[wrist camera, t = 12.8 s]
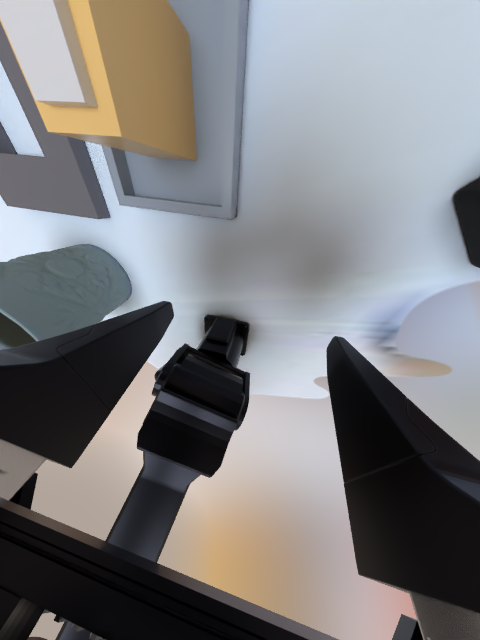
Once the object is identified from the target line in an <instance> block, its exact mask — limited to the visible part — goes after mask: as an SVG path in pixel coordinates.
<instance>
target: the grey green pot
mask: <svg viewBox="0 0 480 640" xmlns="http://www.w3.org/2000/svg"><path fill="white" fill-rule="evenodd" d="M131 291H132V290H131V284H130V280H129V278H128V276H127V274H126V272H125V271H124V269H123V268H122V267H121V265H120V264H119V263H118V262H117V261H116V260H115V259H114V258H113V257H112V256H111V255H110V254H108V253H107V252H105V251H104V250H102V249H100V248H98V247H95V246H93V245H76V246H71V247H66V248H62V249H57V250H53V251H50V252H41V253H36V254H32V255H25V256H21V257H18V258H16V259H11V260H10V261H8V262H0V349H1V350H2V349H9V348H15V347H19V346H23V345H26V344H30V343H33V342H37V341H40V340H44V339H47V338H51V337H54V336H58V335H61V334H65V333H68V332H72V331H75V330H78V329H81V328H84V327H87V326H90V325H93V324H96V323H98V322H100V321H102V320H103V318H104V317H105V316H106V315H108V314H109V313H110V312H112V311H113V310H115V309H116V308H117V307H119V306H120V305H121V304H122V303H123V302H125V301H126V300H127V299H128V298H129V296H130V294H131Z"/></svg>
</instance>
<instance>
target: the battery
mask: <svg viewBox="0 0 480 640" xmlns="http://www.w3.org/2000/svg"><path fill="white" fill-rule="evenodd" d="M455 203H456V207H457V211H458V214H459V218H460V222H461V225H462V229H463V233H464V236H465V240H466V244H467V247H468V251H469V255H470V258H471V262H472V264H473V265H474V266H476V267H478V268H480V178H479V179H478V180H476V181H474V182H473V183H471V184H469V185H468V186H466V187H464V188H463V189H461V190H460V191H459V192H458V193H457V194H456V196H455Z"/></svg>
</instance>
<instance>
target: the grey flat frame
mask: <svg viewBox="0 0 480 640" xmlns="http://www.w3.org/2000/svg"><path fill="white" fill-rule="evenodd" d="M0 61H1V63H2V65H3V68H4V70H5V72H6V74H7V76H8V78H9V81H10V83H11V85H12V87H13V89H14V91H15V93H16V96H17V98H18V100H19V102H20V104H21V106H22V109H23V111H24V113H25V115H26V117H27V119H28V121H29V124H30V126H31V128H32V130H33V132H34V134H35V137H36V139H37V141H38V143H39V145H40V147H41V149H42V152H43V154H44V156H45V157H37V156H27V155H17V153H16V151H15V149H14V147H13V146H12V144H11V142H10V140H9V138H8V136H7V134H6V132H5V131H4V129H3V127H2V125H1V123H0V195H1V197H2V198H3V200H4V201H5V203H6V205H7V206H12V207H19V208H26V209H33V210H40V211H46V212H53V213H60V214H67V215H74V216H81V217H88V218H94V219H103V218H109V217H110V215H109V212H108V209H107V206H106V203H105V200H104V197H103V195H102V192H101V189H100V186H99V183H98V180H97V177H96V174H95V171H94V168H93V165H92V163H91V160H90V157H89V154H88V151H87V148H86V145H85V142H84V141H83V140H79V139H75V138H71V137H67V136H63V135H59V134H55V133H51V132H48V131H47V129H46V126H45V124H44V122H43V119H42V117H41V115H40V112H39V110H38V108H37V105H36V103H35V101H34V98H33V96H32V94H31V91H30V89H29V87H28V84H27V82H26V80H25V77H24V75H23V73H22V70H21V68H20V66H19V63H18V61H17V59H16V56H15V54H14V52H13V49H12V47H11V45H10V42H9V40H8V38H7V36H6V33H5V31H4V29H3V26H2V24H1V22H0Z"/></svg>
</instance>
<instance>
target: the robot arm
mask: <svg viewBox="0 0 480 640" xmlns="http://www.w3.org/2000/svg"><path fill="white" fill-rule="evenodd" d="M173 317H174V312H173V307H172V304H171V303H170V302H167V301H162V302H159V303H156V304H153V305H150V306H147V307H144V308H141V309H138V310H135V311H132V312H129V313H126V314H123V315H120V316H117V317H114V318H111V319H108V320H105V321H102V322H99V323H96V324H93V325H90V326H87V327H84V328H81V329H78V330H75V331H72V332H68V333H65V334H61V335H58V336H54V337H51V338H47V339H44V340H40V341H37V342H33V343H30V344H26V345H23V346H19V347H15V348H9V349H2V350H0V640H47V639H44V638H41V637H29V635H30V633H31V632H32V630H33V628H34V627H35V625H36V623H37V622H38V620H39V618H40V616H41V615H42V614H43V613H49V612H52V613H54V614H56V617H55V619H54V621H56V622H63V621H65V622H64V624H63V626H62V628H61V630H60V632H59V634H58V636H57V638H56V640H338V639H336V638H334V637H331V636H329V635H327V634H324V633H322V632H319V631H317V630H314V629H312V628H310V627H308V626H305V625H303V624H300V623H298V622H296V621H293V620H291V619H288V618H286V617H284V616H281V615H279V614H277V613H274V612H272V611H270V610H267V609H265V608H262V607H260V606H258V605H255V604H253V603H250V602H248V601H246V600H243V599H241V598H239V597H236V596H234V595H232V594H229V593H227V592H224V591H222V590H220V589H217V588H215V587H213V586H210V585H208V584H205V583H203V582H201V581H198V580H196V579H193V578H191V577H189V576H186V575H184V574H182V573H179V572H177V571H175V570H172V569H170V568H167V567H165V566H163V565H160V564H158V563H157V561H158V559H159V556H160V554H161V552H162V549H163V547H164V544H165V542H166V539H167V537H168V535H169V532H170V530H171V527H172V525H173V523H174V520H175V518H176V516H177V513H178V511H179V509H180V506H181V504H182V501H183V499H184V497H185V494H186V492H187V489H188V487H189V485H190V483H191V482H192V481H194V480H195V479H196V478H197V477H198V476H200V475H201V474H202V475H204V476H207V477H209V478H210V477H212V476H213V475H214V473H215V472H216V471H217V470H218V469H219V467H220V466H221V464H222V461H223V458H224V454H225V452H226V449H227V446H228V443H229V441H230V438H231V436H232V434H233V431H234V430H237V429H238V428H239V427H240V426H241V424H242V422H243V419H244V417H245V414H246V412H247V407H248V403H249V385H250V373H248V372H244V371H242V370H240V369H238V368H237V364H238V361H239V358H240V355H242V356H243V355H245V352H246V345H247V339H248V332H249V324H248V323H245V322H240V321H235V320H230V319H226V318H221V317H216V316H211V315H206V316H205V318H204V321H205V336H204V338H203V339H202V341H201V343H200V344H199V346H198V348H197V350H196V349H194V348H192V347H190V346H189V345H187V344H184V345H183V346H182V347H181V348H179V349H178V350H177V351H176V352H175V354H174V355H173V356H172V357H171V359H170V360H169V361H168V362H167V363H166V364H165V365H164V366H163V367H161V368H160V369H159V370H158V371H157V372H156V374H155V380H156V382H155V385H154V388H153V391H152V395H153V396H156V398H155V400H154V402H153V404H152V406H151V408H150V410H149V412H148V414H147V416H146V418H145V420H144V422H143V426H142V427H141V429H140V431H139V433H138V441H137V449H139V450H141V451H143V459H144V464H143V467H142V469H141V471H140V473H139V475H138V477H137V479H136V481H135V483H134V485H133V487H132V489H131V492H130V493H129V495H128V497H127V499H126V501H125V503H124V505H123V507H122V509H121V511H120V513H119V515H118V517H117V519H116V521H115V523H114V525H113V527H112V529H111V531H110V533H109V535H108V537H107V539H106V541H103V540H101V539H99V538H96V537H94V536H91V535H89V534H87V533H84V532H82V531H79V530H77V529H75V528H72V527H70V526H68V525H65V524H63V523H61V522H58V521H56V520H53V519H51V518H49V517H46V516H44V515H41V514H39V513H37V512H34V511H32V510H31V505H32V500H33V495H34V490H35V485H36V480H37V475H38V474H37V473H34V472H35V471H36V470H37V469H38V468H39V467H40V466H41V465H42V463H43V462H44V461H45V460H46V459H47V460H50V461H52V462H55V463H58V464H61V465H63V466H66V467H69V468H72V467H73V465H74V464H75V463H76V461H77V460H78V459H79V457H80V456H81V454H82V453H83V451H84V450H85V449H86V447H87V446H88V444H89V443H90V441H91V440H92V439H93V437H94V435H95V434H96V433H97V431H98V430H99V428H100V427H101V426H102V424H103V423H104V421H105V420H106V418H107V417H108V416H109V414H110V413H111V411H112V410H113V408H114V407H115V405H116V404H117V402H118V401H119V399H120V398H121V396H122V395H123V394H124V392H125V391H126V389H127V388H128V387H129V385H130V384H131V382H132V381H133V379H134V378H135V376H136V375H137V374H138V372H139V371H140V369H141V368H142V366H143V365H144V364H145V362H146V361H147V359H148V358H149V356H150V355H151V353H152V352H153V351H154V349H155V348H156V346H157V345H158V343H159V342H160V340H161V339H162V337H163V336H164V334H165V332H166V330H167V328H168V326H169V324H170V323H171V321H172V319H173ZM208 318H209V319H208ZM245 326H247V327H245ZM327 378H328V385H329V391H330V398H331V404H332V410H333V416H334V423H335V429H336V436H337V442H338V449H339V455H340V461H341V467H342V474H343V480H344V487H345V494H346V500H347V507H348V513H349V519H350V525H351V532H352V538H353V544H354V551H355V558H356V563H357V569H358V574H359V575H361V576H364V577H366V578H369V579H372V580H375V581H377V582H380V583H382V584H385V585H388V586H391V587H393V588H396V589H399V590H402V591H404V592H407V593H409V594H410V597H411V600H412V603H413V607H414V610H415V614H416V617H417V620H416V619H413V618H410V617H408V616H405V615H403V614H401V617H400V620H399V622H398V625H397V628H396V630H395V633H394V636H393V638H392V640H480V461H479V460H478V459H476V458H475V457H474V456H473V455H472V454H470V453H469V452H468V451H467V450H466V449H465V448H463V447H462V446H461V445H460V444H459V443H458V442H457V441H455V440H454V439H453V438H452V437H450V436H449V435H448V434H447V433H446V432H445V431H443V429H441V428H440V427H439V426H438V425H437V424H435V423H434V422H433V421H432V420H431V419H430V418H429V417H428V416H427V415H425V414H424V413H423V412H422V411H421V410H420V409H419V408H418V407H417V406H416V405H415V404H414V403H413V402H411V401H410V400H409V399H408V398H407V397H406V396H405V395H404V394H403V393H402V392H401V391H400V390H399V389H398V388H396V387H395V386H394V385H393V384H392V383H391V382H390V381H389V380H388V379H387V378H386V377H385V376H384V375H383V374H382V373H381V372H379V371H378V370H377V369H376V368H375V367H374V366H373V365H372V364H371V363H370V362H369V361H368V360H367V359H366V358H365V357H363V356H362V355H361V354H360V353H359V352H358V351H357V350H356V349H355V348H354V347H353V346H352V345H351V344H350V343H349V342H347V341H346V340H345V339H344V338H342V337H337V336H335V337H333V339H332V340H331V342H330V344H329V345H328V347H327Z"/></svg>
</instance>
